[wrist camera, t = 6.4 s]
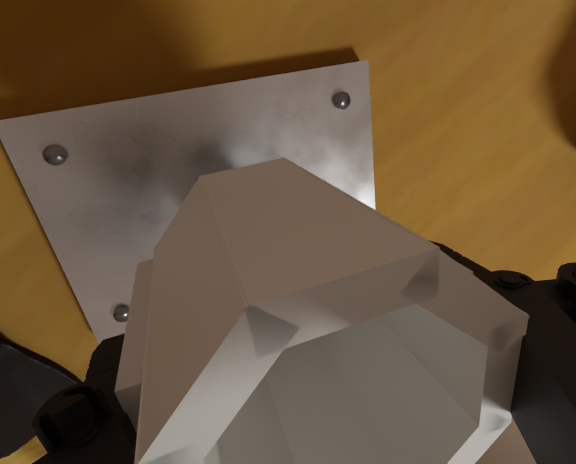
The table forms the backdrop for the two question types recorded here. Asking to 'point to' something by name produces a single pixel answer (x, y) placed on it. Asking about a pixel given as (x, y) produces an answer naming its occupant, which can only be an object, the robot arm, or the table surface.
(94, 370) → the robot arm
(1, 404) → the curved wedge
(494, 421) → the octagonal hollow tube
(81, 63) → the table surface
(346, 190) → the duct plate
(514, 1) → the table surface
